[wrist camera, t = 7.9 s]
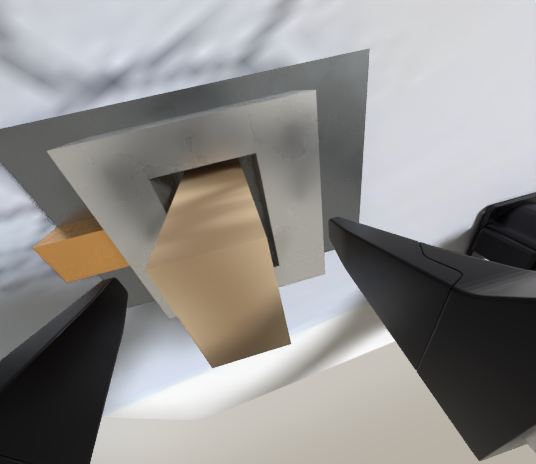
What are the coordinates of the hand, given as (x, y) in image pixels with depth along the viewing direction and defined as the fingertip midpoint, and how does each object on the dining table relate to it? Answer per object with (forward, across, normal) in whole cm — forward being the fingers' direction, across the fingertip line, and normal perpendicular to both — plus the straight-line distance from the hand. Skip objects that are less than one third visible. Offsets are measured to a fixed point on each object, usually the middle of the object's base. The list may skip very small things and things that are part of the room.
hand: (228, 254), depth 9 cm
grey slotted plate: (+6, 0, 0) cm, 6 cm away
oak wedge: (+5, 0, 0) cm, 5 cm away
